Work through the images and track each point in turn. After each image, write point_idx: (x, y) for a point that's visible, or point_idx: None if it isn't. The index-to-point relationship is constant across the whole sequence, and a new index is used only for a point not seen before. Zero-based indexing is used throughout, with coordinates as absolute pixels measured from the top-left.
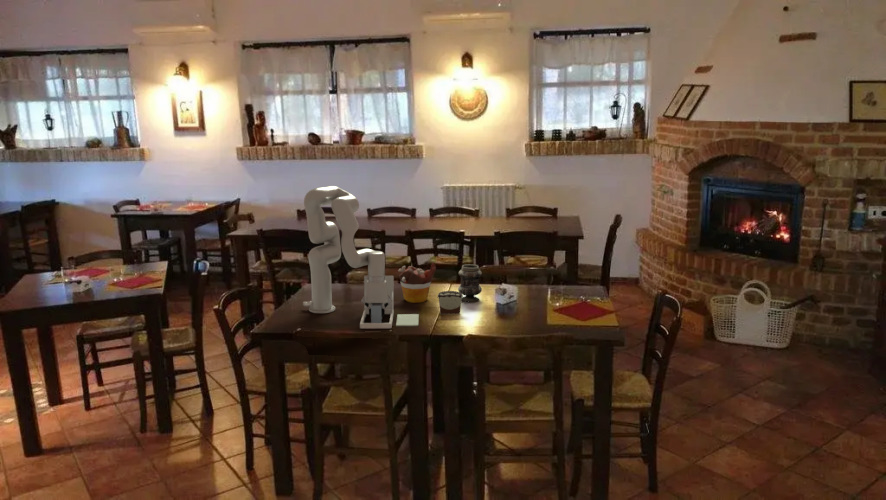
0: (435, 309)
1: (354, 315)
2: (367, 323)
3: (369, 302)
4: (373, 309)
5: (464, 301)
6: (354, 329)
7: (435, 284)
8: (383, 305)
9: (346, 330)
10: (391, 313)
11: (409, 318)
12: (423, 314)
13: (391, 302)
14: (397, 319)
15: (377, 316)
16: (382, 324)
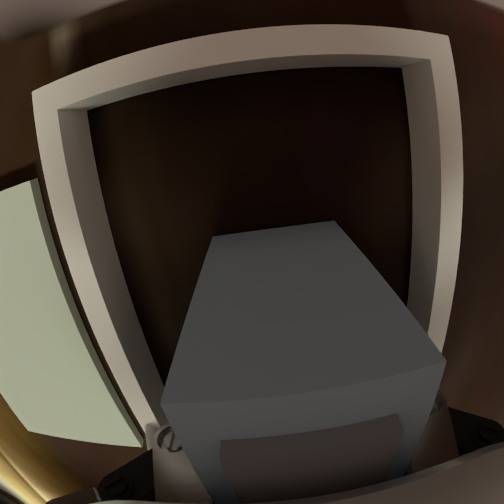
0: (28, 472)
1: (460, 392)
2: (362, 34)
3: (486, 458)
4: (359, 324)
5: (9, 496)
6: (456, 25)
7: None
8: (171, 473)
9: (499, 15)
10: (152, 427)
11: (19, 366)
12: (22, 433)
13: (52, 501)
14: (80, 346)
15: (258, 264)
16: (139, 53)
